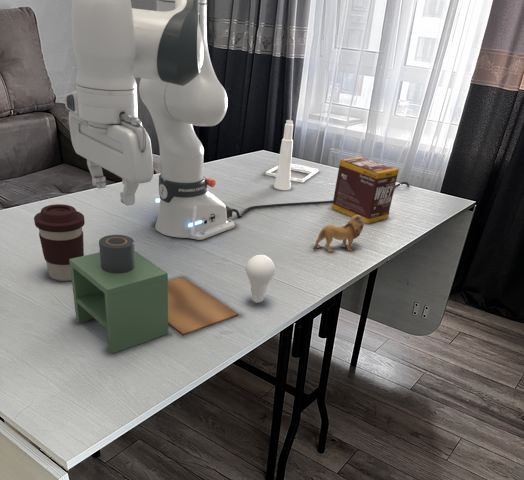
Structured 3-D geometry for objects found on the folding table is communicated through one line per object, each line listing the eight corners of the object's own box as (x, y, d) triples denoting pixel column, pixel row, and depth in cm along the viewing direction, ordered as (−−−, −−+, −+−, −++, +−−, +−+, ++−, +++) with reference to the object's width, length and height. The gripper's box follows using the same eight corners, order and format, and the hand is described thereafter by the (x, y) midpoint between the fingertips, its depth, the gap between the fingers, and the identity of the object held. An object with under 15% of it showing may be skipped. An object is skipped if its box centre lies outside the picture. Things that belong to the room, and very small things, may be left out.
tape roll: (124, 256, 101) (123, 232, 99) (141, 268, 98) (140, 243, 95) (94, 263, 98) (92, 238, 95) (111, 276, 94) (109, 250, 91)
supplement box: (368, 224, 165) (378, 173, 157) (331, 208, 174) (339, 159, 166) (388, 218, 171) (400, 168, 163) (352, 203, 180) (361, 155, 172)
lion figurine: (353, 242, 152) (359, 211, 147) (363, 250, 148) (370, 218, 143) (308, 247, 146) (312, 215, 141) (318, 255, 142) (323, 222, 137)
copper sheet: (182, 278, 124) (182, 276, 124) (238, 315, 113) (238, 313, 112) (129, 293, 116) (129, 292, 116) (182, 335, 104) (182, 333, 104)
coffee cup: (64, 289, 115) (55, 221, 107) (32, 275, 119) (22, 209, 111) (99, 274, 122) (93, 209, 114) (68, 261, 126) (60, 198, 118)
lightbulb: (242, 295, 120) (246, 249, 114) (269, 296, 121) (274, 250, 115) (244, 308, 115) (247, 261, 109) (272, 310, 116) (277, 263, 110)
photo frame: (318, 168, 208) (302, 179, 194) (318, 171, 209) (302, 182, 195) (283, 161, 212) (265, 171, 198) (283, 164, 213) (265, 174, 199)
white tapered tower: (274, 184, 191) (281, 117, 178) (291, 186, 190) (299, 120, 178) (272, 189, 186) (279, 121, 173) (289, 191, 185) (298, 123, 173)
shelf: (130, 303, 113) (127, 245, 105) (168, 333, 104) (167, 273, 97) (76, 320, 105) (69, 259, 98) (112, 353, 97) (107, 289, 90)
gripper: (163, 119, 79) (163, 211, 86) (95, 93, 91) (101, 176, 98) (124, 122, 75) (128, 218, 82) (59, 94, 87) (68, 180, 94)
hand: (113, 195), depth 90 cm, fingers open, 8 cm apart
